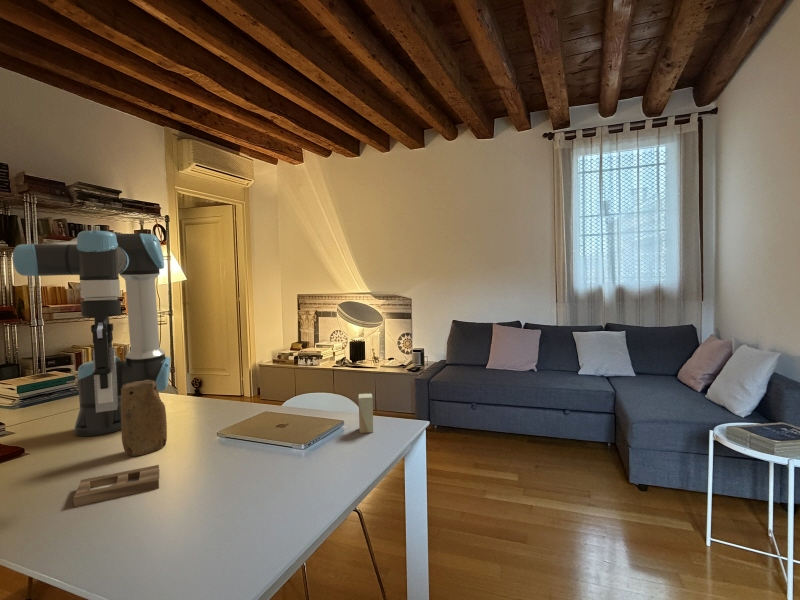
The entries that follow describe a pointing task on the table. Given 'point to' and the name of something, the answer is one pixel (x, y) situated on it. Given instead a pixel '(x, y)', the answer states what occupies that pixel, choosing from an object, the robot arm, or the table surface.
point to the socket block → (117, 485)
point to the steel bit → (112, 405)
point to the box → (365, 413)
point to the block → (142, 418)
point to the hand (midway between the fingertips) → (106, 399)
